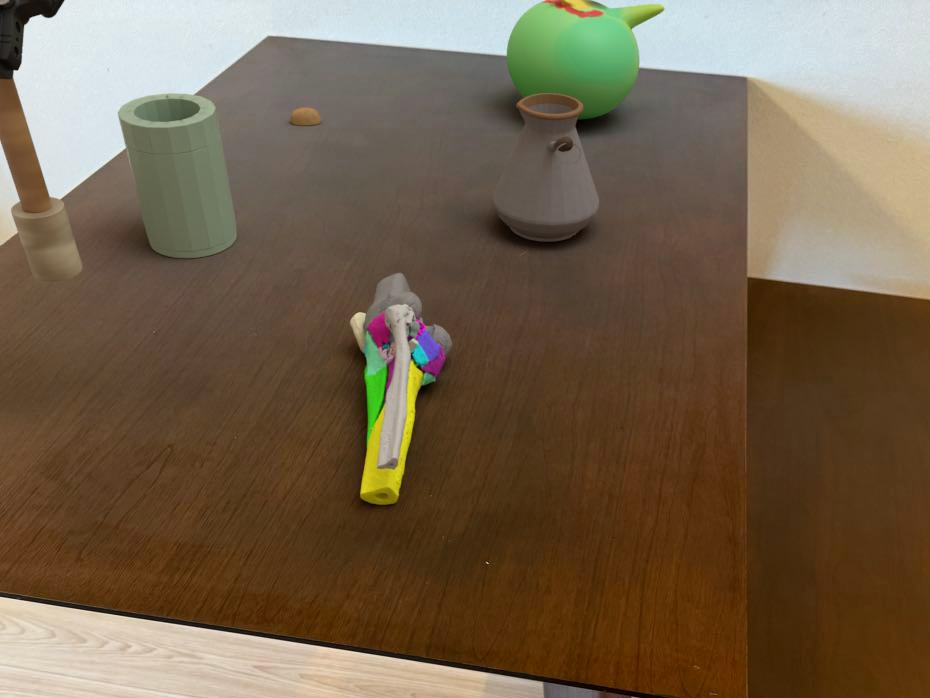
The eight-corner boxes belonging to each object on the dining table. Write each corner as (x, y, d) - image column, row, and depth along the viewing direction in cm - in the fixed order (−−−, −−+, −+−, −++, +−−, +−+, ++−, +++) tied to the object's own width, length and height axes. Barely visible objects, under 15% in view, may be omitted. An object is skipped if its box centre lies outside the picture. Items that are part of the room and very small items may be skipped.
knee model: (364, 547, 75) (378, 337, 90) (460, 518, 72) (457, 309, 88) (301, 474, 68) (328, 261, 84) (404, 440, 66) (412, 228, 81)
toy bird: (481, 105, 131) (482, -16, 121) (572, 82, 139) (580, -34, 129) (570, 148, 121) (580, 20, 111) (663, 120, 130) (679, -2, 119)
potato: (321, 125, 124) (320, 111, 123) (290, 126, 123) (288, 112, 122) (321, 117, 126) (320, 103, 125) (290, 118, 125) (288, 104, 124)
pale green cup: (140, 258, 97) (107, 126, 88) (159, 219, 103) (130, 92, 94) (229, 259, 97) (205, 128, 88) (243, 220, 104) (222, 94, 95)
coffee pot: (489, 202, 109) (491, 61, 99) (590, 203, 110) (602, 63, 100) (499, 298, 94) (503, 142, 83) (616, 297, 94) (635, 143, 84)
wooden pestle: (25, 281, 72) (-78, -16, 58) (40, 258, 74) (-55, -32, 61) (75, 282, 72) (-16, -15, 58) (88, 259, 75) (4, -30, 61)
